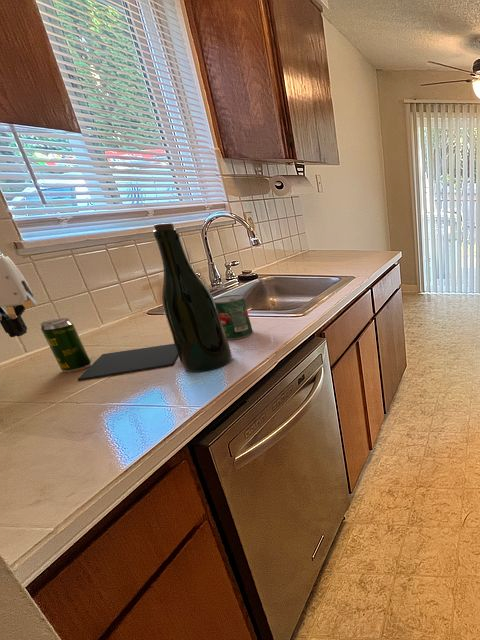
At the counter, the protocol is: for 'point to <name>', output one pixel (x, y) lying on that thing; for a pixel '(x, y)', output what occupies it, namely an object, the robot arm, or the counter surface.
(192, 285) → the green wine bottle
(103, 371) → the rubber mat
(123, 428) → the counter surface
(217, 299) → the canned tomato
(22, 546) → the counter surface
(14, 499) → the counter surface
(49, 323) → the beer can
